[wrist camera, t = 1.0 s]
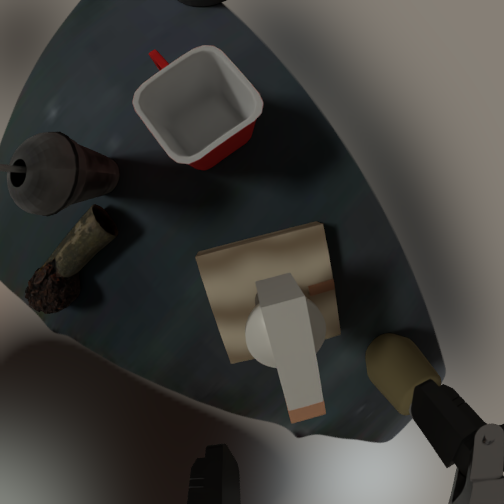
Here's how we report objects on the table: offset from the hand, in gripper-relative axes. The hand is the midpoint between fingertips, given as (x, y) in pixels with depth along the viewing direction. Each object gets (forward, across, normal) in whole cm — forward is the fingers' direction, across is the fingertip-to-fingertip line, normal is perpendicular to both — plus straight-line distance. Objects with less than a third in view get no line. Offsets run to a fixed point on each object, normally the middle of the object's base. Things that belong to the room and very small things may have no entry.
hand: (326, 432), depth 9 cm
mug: (+24, +3, -19) cm, 31 cm away
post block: (+24, 0, +3) cm, 24 cm away
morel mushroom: (+24, +24, -7) cm, 35 cm away
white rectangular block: (+15, 0, +3) cm, 15 cm away
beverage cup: (+24, +16, -16) cm, 33 cm away
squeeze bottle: (+24, -14, +17) cm, 33 cm away
